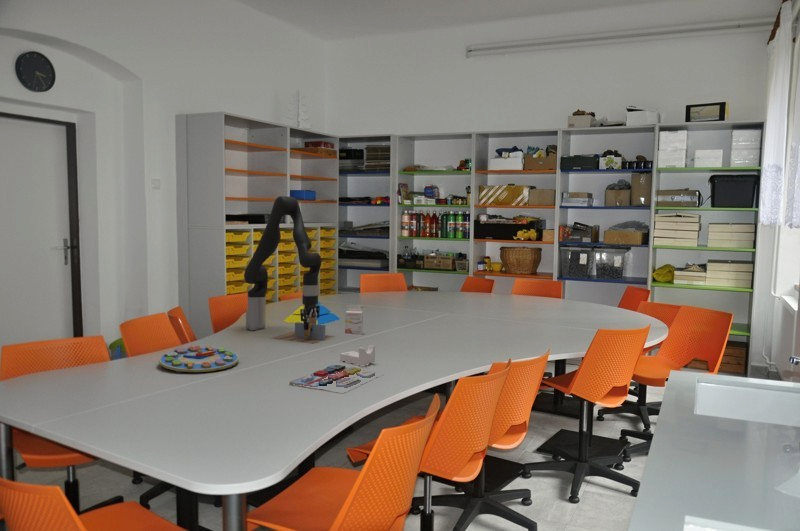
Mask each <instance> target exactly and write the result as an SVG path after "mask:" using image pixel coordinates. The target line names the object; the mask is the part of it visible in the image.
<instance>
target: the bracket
mask: <svg viewBox="0 0 800 531" xmlns="http://www.w3.org/2000/svg"><path fill="white" fill-rule="evenodd" d="M375 358H376V346H375V345H371V344H369V345H368V348H367V350H366V348H365V347H361V346H360V347H358V352H357V351H354V350H353V351H352V350H350V351H346V352H342V353H339V362H341V361H345V362H350V363H354V364H359V365H366V364H369V365H370V364H372V363H375V361H376V359H375ZM345 362H344V363H345ZM350 363H349V364H350ZM354 364H353V365H354ZM359 365H358V366H359Z"/></svg>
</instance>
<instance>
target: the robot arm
mask: <svg viewBox="0 0 800 531" xmlns="http://www.w3.org/2000/svg"><path fill="white" fill-rule="evenodd" d="M284 216H289V217H290V218H291V220H292V222H293V229H292V238H293V241H294V243H295V246H296V249H297V253H298V254H297V255H298V262H299V264H300V265H301V267H303V268H305V269H309V270H308V271H307V272H304V273H303V275H302V290H301V291H302V293H301V294H302V298H301V299H302V301H301V302H302V305H303V304H304V305H305V306H304V305H303V306H304V309H300V314H301V321H303V322H304V330H308V325H309V322H308V321H309V318H310V317H313V316H314V317H315V318H316V320H317V318H319V312H320V306H316V304H318V302H319V286H318V285H319V278H318V277H319V274H320V270H321V267H322V258H321V255H320V254H319V253H318V252H308V251H310V250H311V249H312V242H311V240H310V238H309V235H308V232H307V230H306V228H305V223H304V220H303V219H304V218H303V215H302V212H301V207H300V204H299V202H298V199H297V198H296V197H294V196H288V195H287V196H285V195H281V196H277V197H276V199H275V200H274V202H273V205H272V209H271V211H270V215H269V218H268V221H267V223H266V226H265V228H264V230H263V232H262V234H261V237H260V239H259V241H258V245H257V247H256V249H255V251H254V254H253V255H252V257H251V259H250V261H249V262H248V264H247V266H246V267H245V269H244V274H243V279H244V282H245V283H247V284H249V285H253V287H252V288H251V289H249V290H248V291H247V310H246V311H245V329H246V330H248V329H249V330H248V331H253V330H258V331H262V330H266V329H267V328H266V326H267V325H266V324H267V323H266V322H267V320H266V319H267V316H266V315H267V314H266V313H267V312H266V310H267V303H266V302H267V301H266V300H267V299H266V298H267V297H266V296H267V291H268V281H269V278H268V277H269V274H268V273H269V272H268V269H267V268H266V266H264V265H263V264H264V263H265V262H266V261H267V260H268V259H269V258H270V257H271V256H272V255H273V254H274V253H275V252H276V250H277V248H278V247H279V244H280V241H281V239H282V238H281V230H280V223H281V222H282V219H283V217H284ZM307 315H308V316H307ZM303 317H304V318H303ZM306 318H307V319H306Z"/></svg>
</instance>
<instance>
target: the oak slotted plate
mask: <svg viewBox="0 0 800 531" xmlns="http://www.w3.org/2000/svg"><path fill="white" fill-rule="evenodd" d="M306 319H307V318H306ZM308 322H309V325H308V330H304V337H308V338H309V337H310V330H311V331H312V325H313V324H316V318H315V317H310V318H309V321H308Z"/></svg>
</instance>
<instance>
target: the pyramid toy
mask: <svg viewBox="0 0 800 531" xmlns="http://www.w3.org/2000/svg"><path fill="white" fill-rule="evenodd" d="M304 306H305V305H304V304H303V303H302V305H301V306H299V307H298V308H297V309H296V310H295V311H293V312H292V313H291V314H289V315H288V316H287V317H286V318H285V319H284V320H283V321H286V322H285V323H291V322H293V323H294V324H295V323H296V322H301V323H304V322H303V321H301V314H300V309H304ZM316 306H320V312H319V318H317V320H316V324H320V325H321V324H322V325H325V323H326V324H329V322H330V323H333V322H336V321H335V320H337V321H340V320H339V319H341V318H340V317H339V316H337V315H336V314H335V313H333V312H332V311H331V310H330V309H329V308H327V307H326V306H325V305H323V304H322V303H321V302H320V301H318V304H316ZM307 316H308V315H307ZM313 317H314V316H313ZM303 318H304V317H303ZM332 321H333V322H332ZM293 323H292V324H293Z"/></svg>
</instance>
